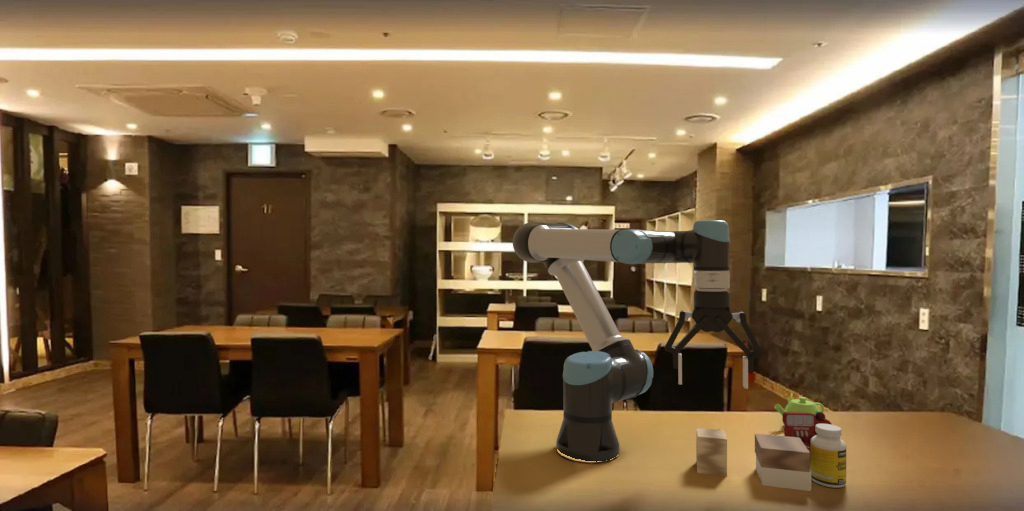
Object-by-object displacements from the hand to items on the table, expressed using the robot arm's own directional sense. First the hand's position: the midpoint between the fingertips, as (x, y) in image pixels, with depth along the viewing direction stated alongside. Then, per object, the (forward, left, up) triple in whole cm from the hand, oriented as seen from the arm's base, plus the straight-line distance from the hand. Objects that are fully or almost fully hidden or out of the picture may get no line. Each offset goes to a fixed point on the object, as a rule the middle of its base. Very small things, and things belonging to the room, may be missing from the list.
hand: (712, 385), depth 116 cm
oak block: (0, 0, -19) cm, 19 cm away
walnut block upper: (+14, -1, -15) cm, 20 cm away
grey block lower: (+14, -1, -19) cm, 24 cm away
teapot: (+25, +36, -19) cm, 48 cm away
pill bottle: (+23, 0, -19) cm, 30 cm away
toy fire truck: (+23, +15, -19) cm, 33 cm away
